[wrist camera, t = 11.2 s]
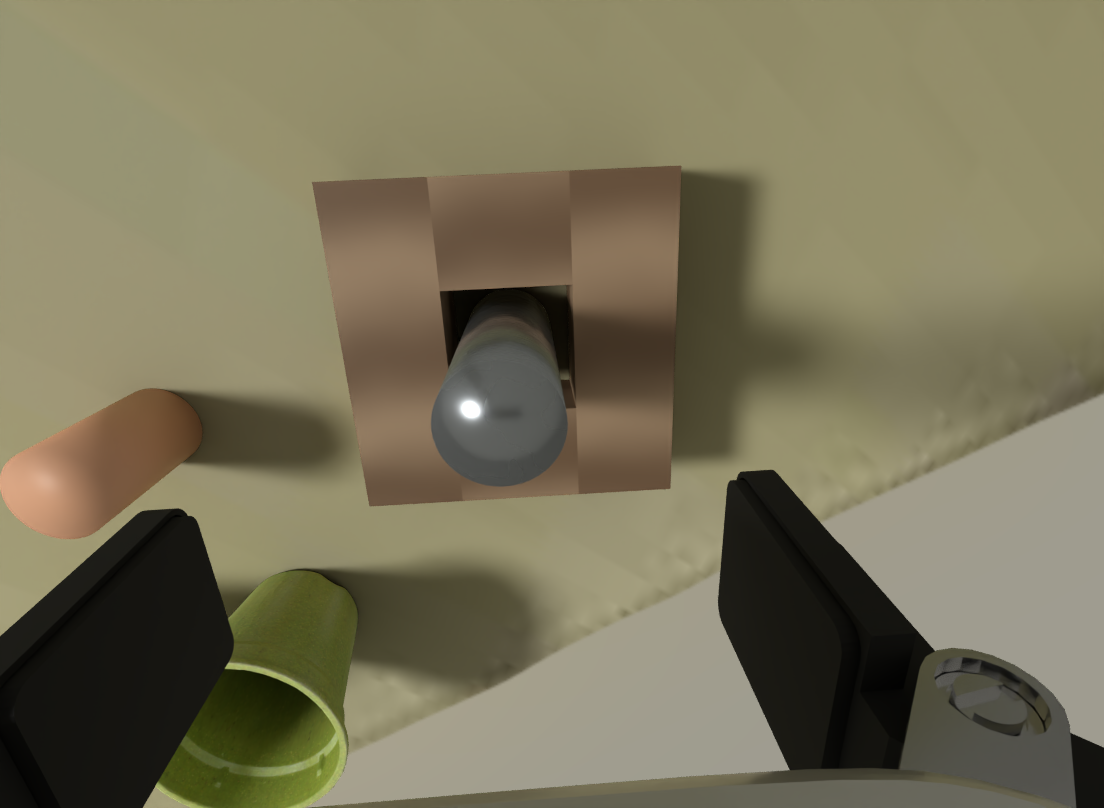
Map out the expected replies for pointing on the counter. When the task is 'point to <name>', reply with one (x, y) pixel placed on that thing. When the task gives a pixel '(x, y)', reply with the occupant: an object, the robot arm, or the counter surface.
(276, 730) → the plant pot
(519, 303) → the long pin
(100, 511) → the short pin
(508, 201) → the socket block
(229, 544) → the counter surface
